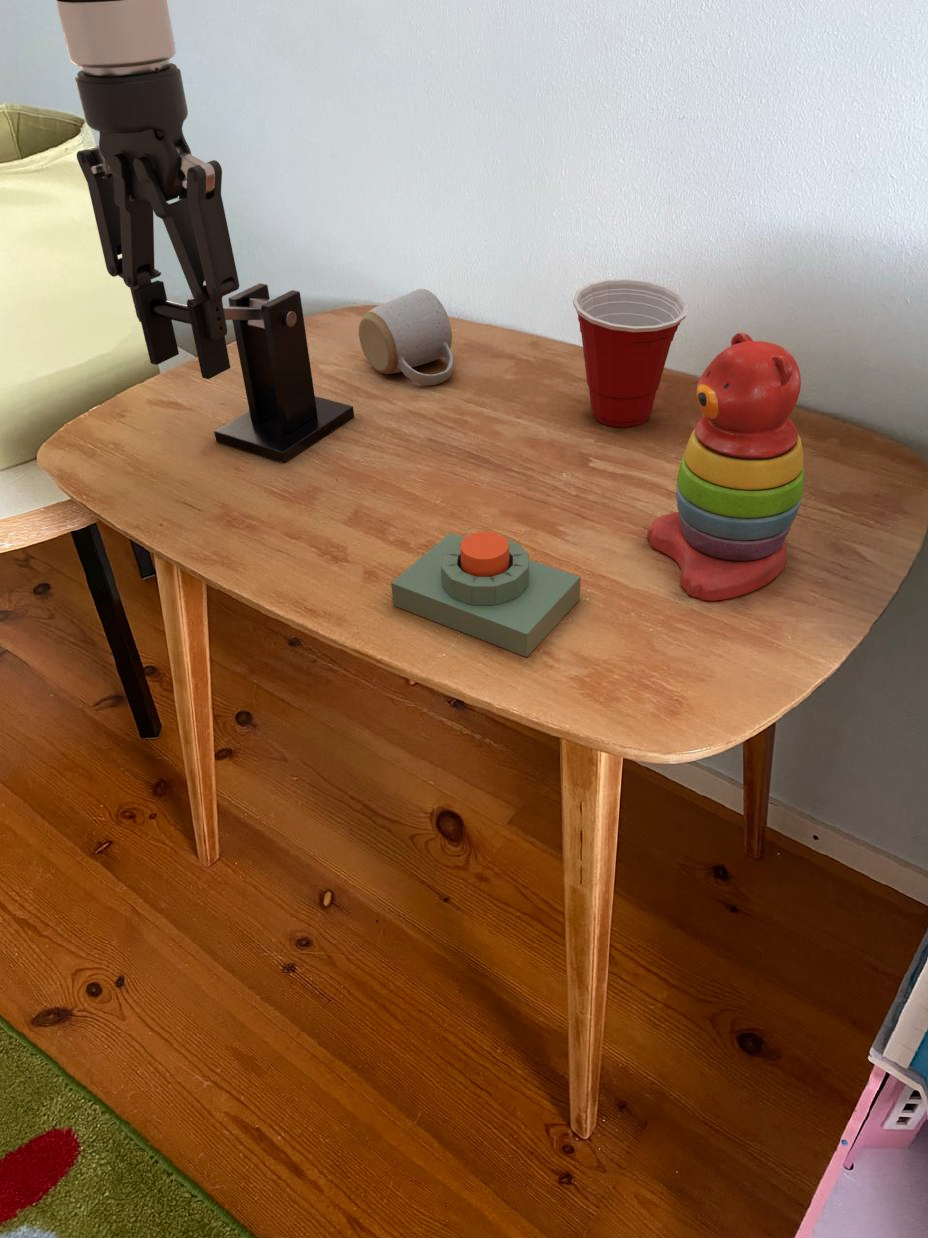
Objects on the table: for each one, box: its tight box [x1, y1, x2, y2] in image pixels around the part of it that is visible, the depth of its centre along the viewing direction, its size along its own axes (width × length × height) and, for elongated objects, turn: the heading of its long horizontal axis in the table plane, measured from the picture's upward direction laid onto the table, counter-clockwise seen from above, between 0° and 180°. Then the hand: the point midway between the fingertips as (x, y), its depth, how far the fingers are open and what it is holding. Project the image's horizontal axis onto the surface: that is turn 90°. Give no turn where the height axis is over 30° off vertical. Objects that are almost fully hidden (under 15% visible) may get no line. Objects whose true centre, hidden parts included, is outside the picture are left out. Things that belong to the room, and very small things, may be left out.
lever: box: [150, 298, 273, 329], centre depth 88 cm, size 13×6×2 cm, turn 147°
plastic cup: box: [572, 278, 690, 428], centre depth 96 cm, size 11×11×12 cm
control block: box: [390, 532, 582, 658], centre depth 75 cm, size 12×8×4 cm, turn 56°
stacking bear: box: [646, 332, 805, 601], centre depth 74 cm, size 11×10×18 cm
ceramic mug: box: [358, 288, 454, 386], centre depth 107 cm, size 11×8×8 cm
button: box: [460, 531, 509, 577], centre depth 73 cm, size 4×4×2 cm
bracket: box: [213, 282, 355, 464], centre depth 95 cm, size 11×9×14 cm
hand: (190, 365), depth 86 cm, fingers closed on lever, 5 cm apart
